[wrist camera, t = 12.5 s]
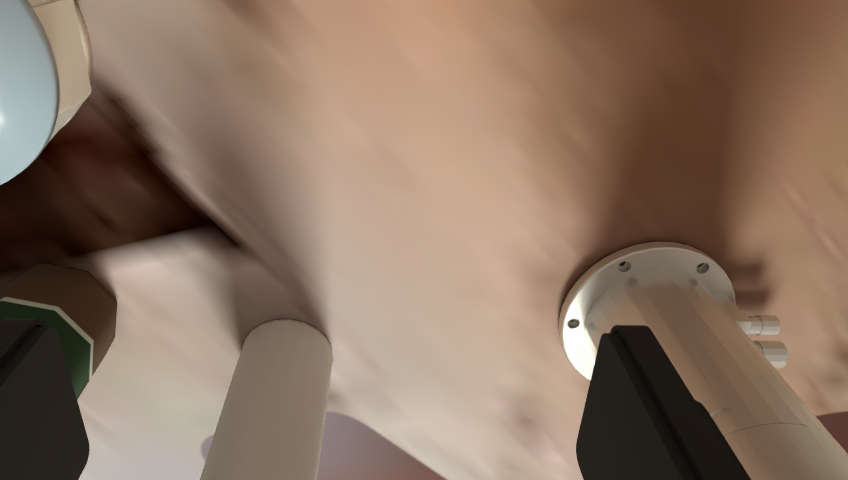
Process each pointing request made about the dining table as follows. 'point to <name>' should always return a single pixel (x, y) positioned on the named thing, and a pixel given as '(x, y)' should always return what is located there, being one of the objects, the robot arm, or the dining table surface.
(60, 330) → the beer bottle
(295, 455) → the bottle
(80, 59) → the bowl
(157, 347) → the dining table surface
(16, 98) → the lid
